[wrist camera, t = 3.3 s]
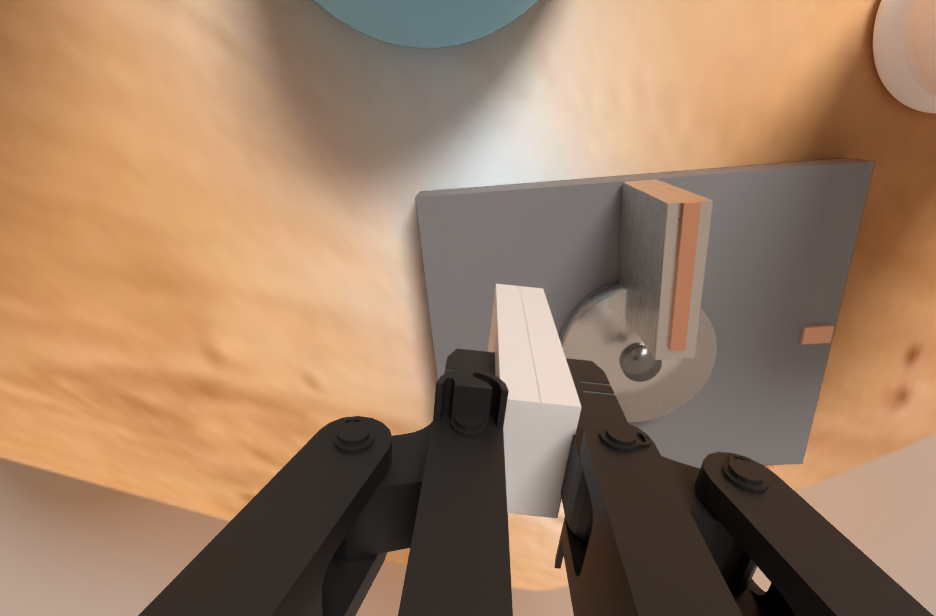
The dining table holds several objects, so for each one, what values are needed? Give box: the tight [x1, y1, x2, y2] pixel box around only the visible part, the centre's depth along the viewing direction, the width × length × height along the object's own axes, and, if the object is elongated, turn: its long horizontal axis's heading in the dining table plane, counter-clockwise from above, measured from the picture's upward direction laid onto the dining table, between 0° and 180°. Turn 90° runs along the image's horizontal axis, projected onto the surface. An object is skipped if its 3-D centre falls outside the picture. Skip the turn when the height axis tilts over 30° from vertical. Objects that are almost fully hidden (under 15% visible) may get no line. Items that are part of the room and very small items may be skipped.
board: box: [415, 158, 875, 468], centre depth 27 cm, size 22×18×2 cm
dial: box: [559, 179, 717, 422], centre depth 22 cm, size 13×8×6 cm, turn 5°
